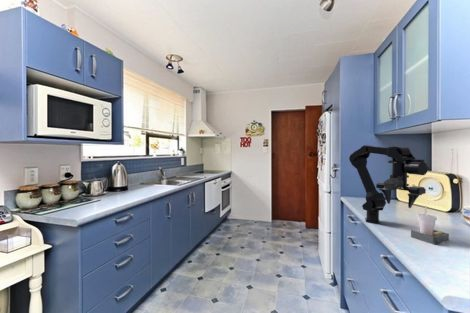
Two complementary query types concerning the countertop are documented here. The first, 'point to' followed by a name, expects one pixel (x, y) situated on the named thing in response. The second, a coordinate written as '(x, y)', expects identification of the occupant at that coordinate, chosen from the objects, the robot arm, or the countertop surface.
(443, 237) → the bracket
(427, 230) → the smoothie
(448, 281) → the countertop surface
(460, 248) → the countertop surface
